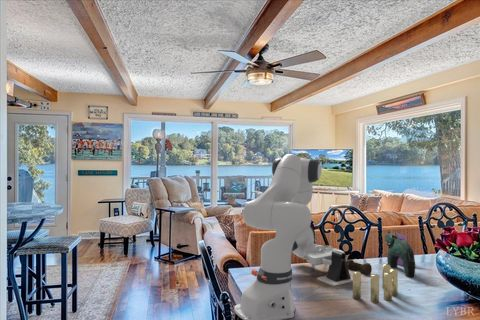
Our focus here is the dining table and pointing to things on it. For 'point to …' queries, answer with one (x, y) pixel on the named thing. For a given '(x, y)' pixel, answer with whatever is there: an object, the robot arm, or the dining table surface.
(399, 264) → the toy chair
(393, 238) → the green animal figurine
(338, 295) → the dining table surface
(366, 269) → the bolt
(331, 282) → the mat
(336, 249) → the robot arm
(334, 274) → the phone stand
